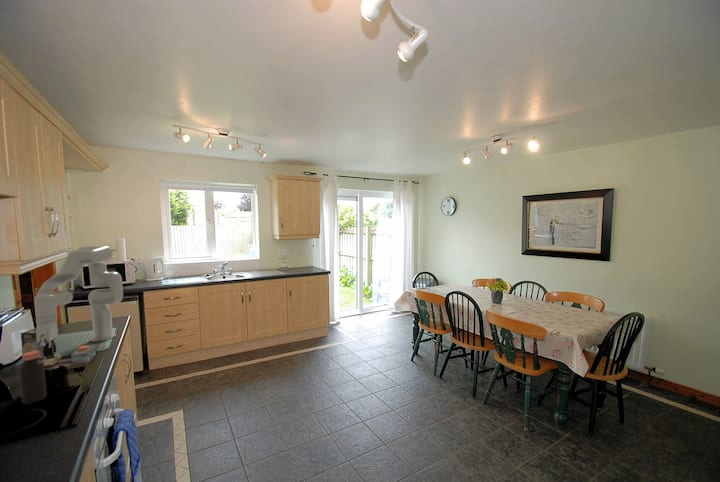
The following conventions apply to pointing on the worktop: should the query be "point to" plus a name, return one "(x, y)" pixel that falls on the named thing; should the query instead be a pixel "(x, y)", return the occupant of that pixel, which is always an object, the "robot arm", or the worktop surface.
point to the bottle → (32, 378)
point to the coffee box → (30, 342)
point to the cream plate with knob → (51, 357)
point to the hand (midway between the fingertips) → (50, 353)
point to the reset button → (83, 348)
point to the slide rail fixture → (74, 359)
